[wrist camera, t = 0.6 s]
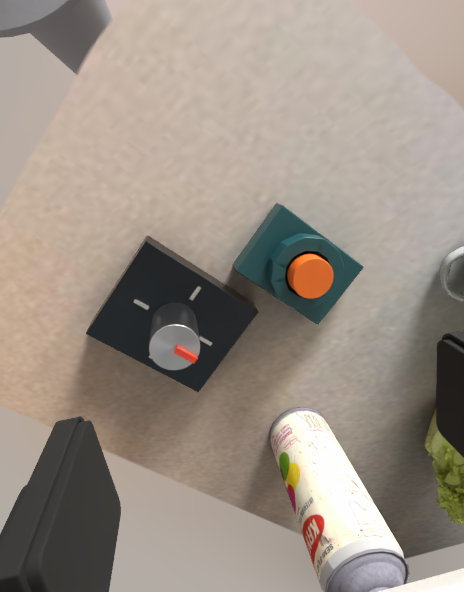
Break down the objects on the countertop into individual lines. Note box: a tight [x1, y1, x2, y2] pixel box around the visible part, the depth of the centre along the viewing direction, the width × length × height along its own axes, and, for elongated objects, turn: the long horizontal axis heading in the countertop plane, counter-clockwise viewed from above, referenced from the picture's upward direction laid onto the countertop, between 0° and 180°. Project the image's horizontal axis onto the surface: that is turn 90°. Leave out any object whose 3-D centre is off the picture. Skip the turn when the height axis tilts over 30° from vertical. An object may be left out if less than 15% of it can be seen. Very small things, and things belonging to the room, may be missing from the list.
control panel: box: [86, 236, 258, 392], centre depth 36 cm, size 12×10×3 cm
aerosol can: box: [269, 408, 409, 592], centre depth 35 cm, size 7×7×20 cm
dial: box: [149, 303, 200, 370], centre depth 33 cm, size 4×4×5 cm
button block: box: [233, 203, 363, 324], centre depth 36 cm, size 10×7×4 cm
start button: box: [287, 254, 333, 299], centre depth 33 cm, size 4×4×2 cm
